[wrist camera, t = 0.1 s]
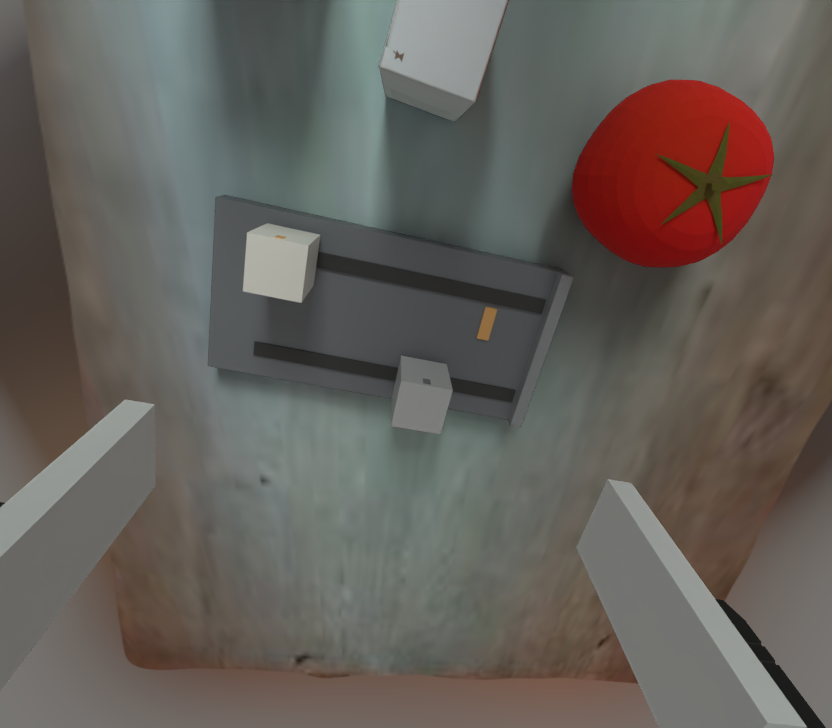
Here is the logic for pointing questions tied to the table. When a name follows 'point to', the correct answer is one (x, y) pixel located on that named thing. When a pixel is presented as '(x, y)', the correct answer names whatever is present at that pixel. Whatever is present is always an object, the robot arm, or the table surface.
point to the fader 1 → (280, 262)
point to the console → (386, 312)
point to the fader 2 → (421, 395)
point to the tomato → (672, 173)
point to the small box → (440, 53)
